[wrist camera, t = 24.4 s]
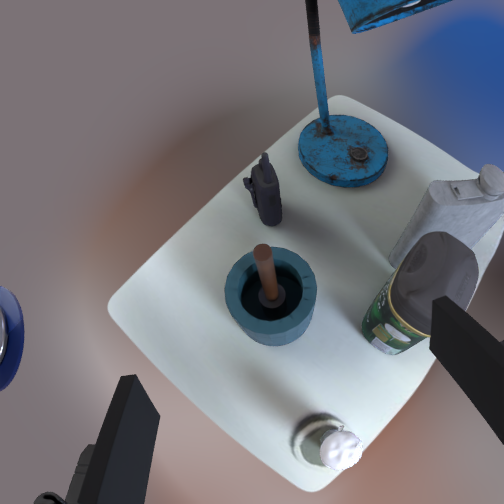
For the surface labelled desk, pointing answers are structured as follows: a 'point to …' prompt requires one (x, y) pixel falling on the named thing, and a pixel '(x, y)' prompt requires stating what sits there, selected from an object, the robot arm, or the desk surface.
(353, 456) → the milkshake
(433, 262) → the coffee jar
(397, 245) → the hip flask
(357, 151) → the desk lamp
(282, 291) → the rod with cylinder end
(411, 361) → the desk surface
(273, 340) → the teal pencil cup
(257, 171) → the two-way radio
